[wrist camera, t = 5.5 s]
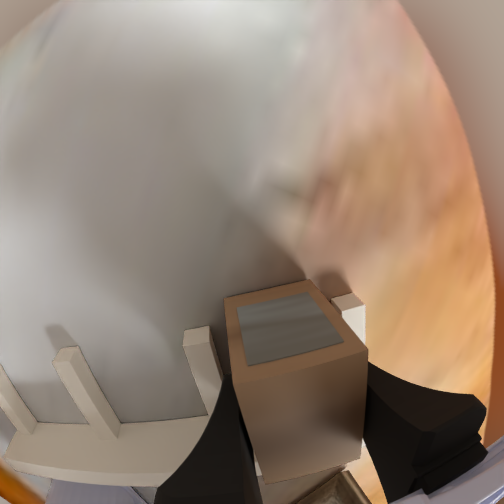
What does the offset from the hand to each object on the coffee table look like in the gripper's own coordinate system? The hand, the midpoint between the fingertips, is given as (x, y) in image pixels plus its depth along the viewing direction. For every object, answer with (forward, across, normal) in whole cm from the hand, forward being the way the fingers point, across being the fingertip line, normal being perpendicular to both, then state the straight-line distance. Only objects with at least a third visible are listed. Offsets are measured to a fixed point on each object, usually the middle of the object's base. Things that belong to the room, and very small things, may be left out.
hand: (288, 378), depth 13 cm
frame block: (+2, 0, 0) cm, 2 cm away
